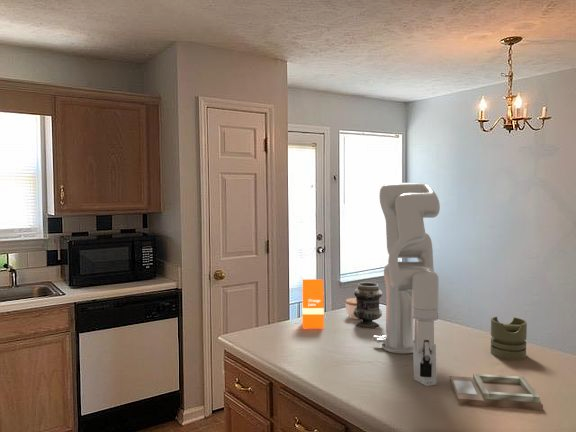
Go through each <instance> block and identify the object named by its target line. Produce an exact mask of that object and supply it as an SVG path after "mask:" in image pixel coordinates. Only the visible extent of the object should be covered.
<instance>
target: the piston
mask: <svg viewBox="0 0 576 432" xmlns="http://www.w3.org/2000/svg"><path fill="white" fill-rule="evenodd" d="M527 327H528V323H527V321H526V320H525V319H522V318H520V317H513V319H512V321H511V322H509V323H503V322H500V321H499V320H498V316H492V317H491V318H490V336H491V337H490V354H491V355H492V356H494V357H496V358H499V359H503V360H509V361H521V360H524V359H526V358H527V341H526V340H527V335H528V334H527V333H528V332H527V331H528V330H527V329H528V328H527Z"/></svg>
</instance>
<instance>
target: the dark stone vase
mask: <svg viewBox="0 0 576 432" xmlns="http://www.w3.org/2000/svg"><path fill="white" fill-rule="evenodd" d="M353 295H354V297H355V298H356V297H357V307H356V308H355V309H354V315H355V316H356V317H357V318H359V319H358V320H361V321H358V322H356V324H355V326H356V327H358V328H360V329H366V330H371V329H377V328H379V327H380V324H379V323H377V322H376V321H375V320H379V319H380V318H382V316H383V311H382V310H381V308H380V298H382V296H383V291H382V290H381V289H380V288H379V284H378V283H376V282H369V281H363V282H359V283H358V284H357V288H355V289H354V292H353Z"/></svg>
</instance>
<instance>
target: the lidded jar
mask: <svg viewBox="0 0 576 432" xmlns="http://www.w3.org/2000/svg"><path fill="white" fill-rule="evenodd" d="M344 302H345V303H344V304H345V310H346V313H347V315H348V316H349V317H350V318H351V319H354V320H360V319H359V318H357V317H356V316H355V315H354V309H355V308H356V307H357V297H356V296H355V297H350V298H346V299H345V300H344Z"/></svg>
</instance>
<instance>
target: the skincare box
mask: <svg viewBox="0 0 576 432" xmlns="http://www.w3.org/2000/svg"><path fill="white" fill-rule="evenodd" d="M436 350H437V345H436V343H434V350H433V354H431V363H432V377H421V376H420V363H421V353H419V354H417V353H416V351H415V340H414V339H413V353H412V355H413V357H412V359H413V360H412V362H413V363H412V364H413V380H415V381H416V382H418V383H420V384H421V385H423V386H425V387H430V386H435V385H437V383H438V382H437V381H438V380H437V352H436ZM422 352H425V350H423V351H422ZM424 356H425V355H423V357H424Z"/></svg>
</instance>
